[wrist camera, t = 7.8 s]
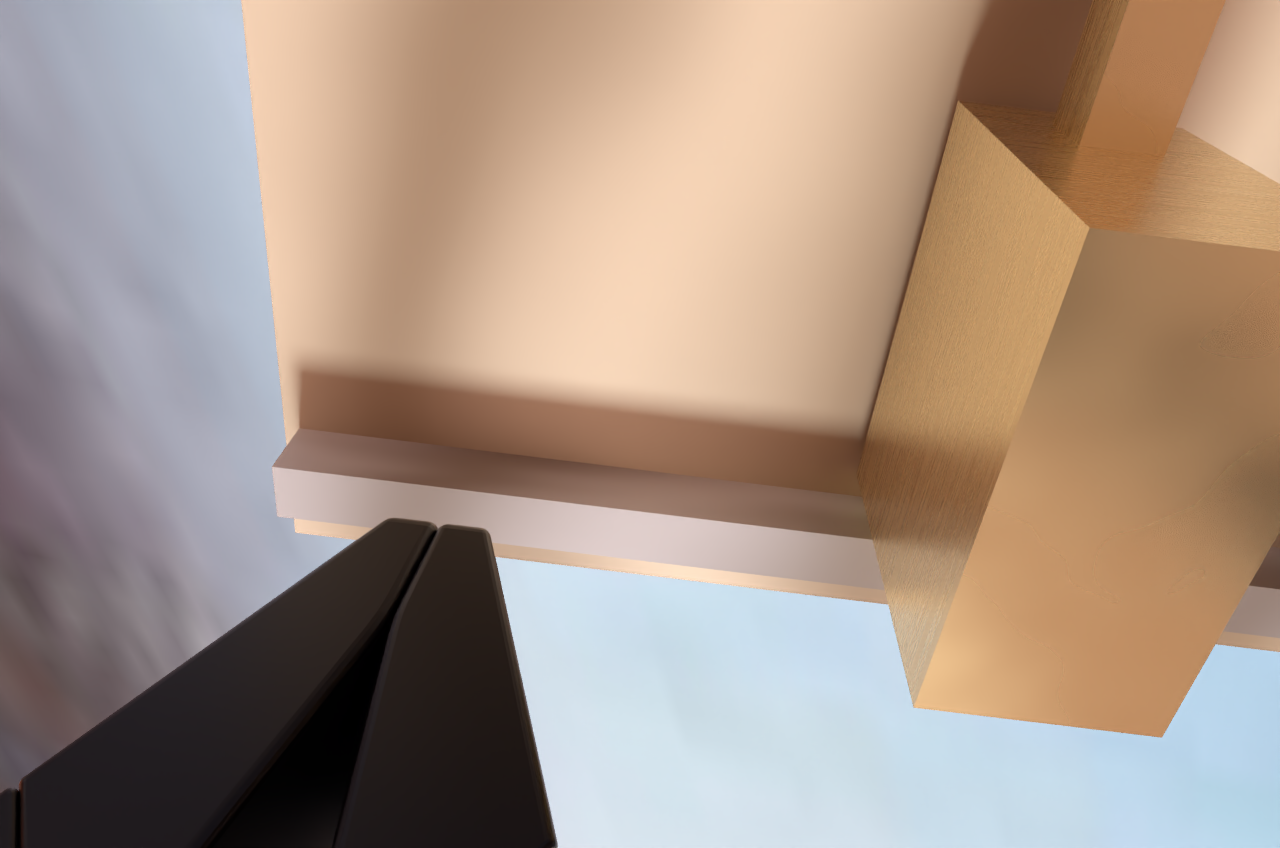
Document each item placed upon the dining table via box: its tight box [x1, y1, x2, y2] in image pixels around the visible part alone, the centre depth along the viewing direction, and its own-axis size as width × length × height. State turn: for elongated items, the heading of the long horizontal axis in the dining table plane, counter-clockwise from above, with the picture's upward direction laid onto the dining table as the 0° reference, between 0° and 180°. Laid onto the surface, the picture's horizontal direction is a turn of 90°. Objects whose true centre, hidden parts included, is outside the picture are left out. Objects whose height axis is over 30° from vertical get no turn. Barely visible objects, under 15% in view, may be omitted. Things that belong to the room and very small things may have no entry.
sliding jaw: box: [856, 0, 1280, 737], centre depth 11 cm, size 3×10×5 cm, turn 174°
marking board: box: [241, 0, 1280, 652], centre depth 14 cm, size 22×14×3 cm
